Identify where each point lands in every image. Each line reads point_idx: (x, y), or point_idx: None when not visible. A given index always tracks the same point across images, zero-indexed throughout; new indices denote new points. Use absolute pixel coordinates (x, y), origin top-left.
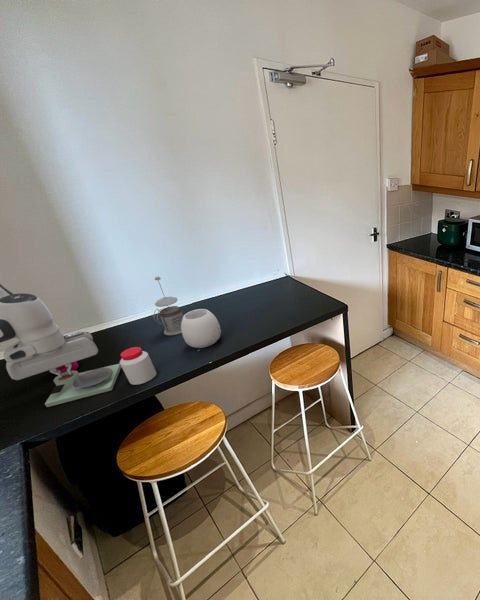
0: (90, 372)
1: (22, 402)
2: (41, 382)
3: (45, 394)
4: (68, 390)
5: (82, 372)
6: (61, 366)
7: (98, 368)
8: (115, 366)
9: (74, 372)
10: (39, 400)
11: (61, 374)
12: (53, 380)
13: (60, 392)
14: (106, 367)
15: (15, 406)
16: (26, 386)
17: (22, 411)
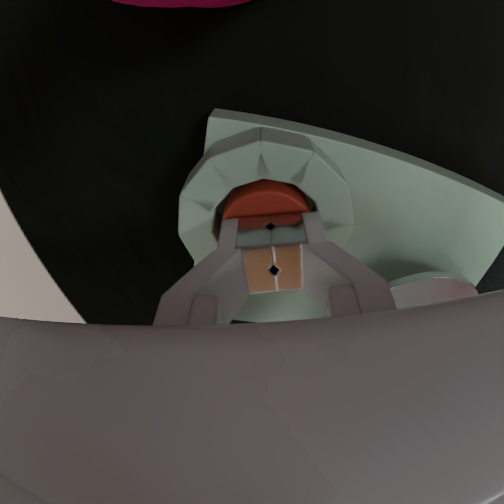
0: (414, 297)
1: (65, 238)
2: (69, 53)
3: (144, 229)
4: (275, 318)
5: (364, 152)
6: (203, 4)
7: (457, 281)
8: (501, 231)
9: (331, 204)
10: (137, 268)
11: (254, 287)
12: (178, 232)
13: (239, 315)
14: (480, 206)
15: (55, 252)
16: (12, 70)
17: (106, 304)
